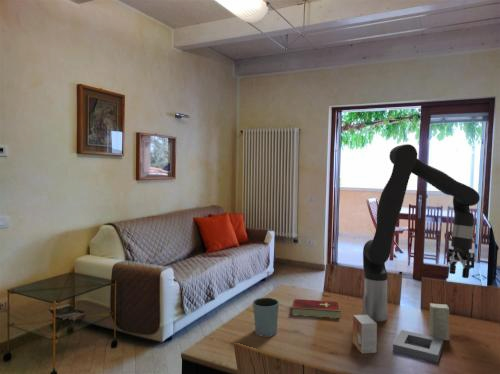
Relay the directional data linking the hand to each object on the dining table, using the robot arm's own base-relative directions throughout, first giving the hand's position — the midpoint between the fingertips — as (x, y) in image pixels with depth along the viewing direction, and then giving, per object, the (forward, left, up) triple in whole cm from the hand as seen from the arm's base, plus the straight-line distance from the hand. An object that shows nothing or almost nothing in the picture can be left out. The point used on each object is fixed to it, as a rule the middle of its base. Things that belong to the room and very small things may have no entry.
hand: (458, 275), depth 150 cm
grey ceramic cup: (-62, -52, -20) cm, 83 cm away
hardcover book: (-54, -22, -20) cm, 61 cm away
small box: (-26, -44, -20) cm, 55 cm away
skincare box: (-5, -20, -20) cm, 28 cm away
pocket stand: (-10, -34, -20) cm, 40 cm away
